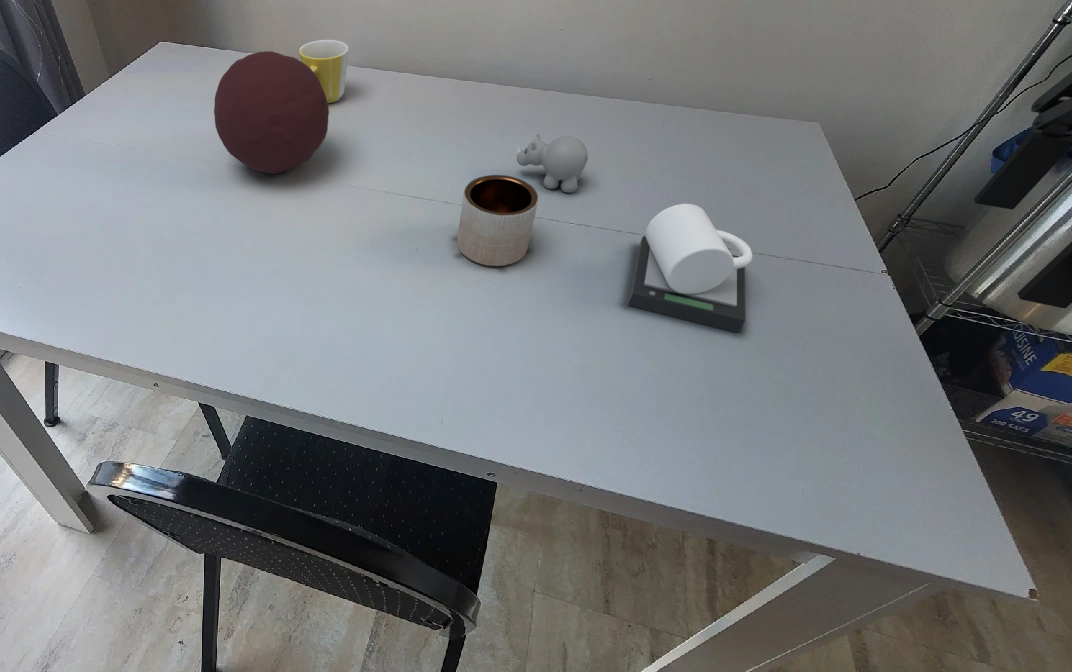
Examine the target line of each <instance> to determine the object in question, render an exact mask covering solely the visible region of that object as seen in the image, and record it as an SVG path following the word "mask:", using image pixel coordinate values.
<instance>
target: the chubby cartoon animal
mask: <svg viewBox="0 0 1072 672" xmlns="http://www.w3.org/2000/svg"><path fill="white" fill-rule="evenodd" d="M588 155H589V154H588V149H587V146H586V145H585V144H584V142H583V141H582V140H580V139H579V138H577V137H575V136H571V135H564V136H559V137H557V138H555V139H554V140H552V141H551V142H550V143H548V144H547V143H546V142H544V141H543V140H541V136H540V134H539V133H538V134H536V138H535V140H533V141H531V142H530V143H529V144H528V145H527V146H526V148H525V147H522V148H521V144H520V143H519V144H518V145H517V147H516V162H517V163H518V165H520V166H522V167H526V166H529V165H531V166H535V167H538V166H542V167H543V169H544V170H545V172H546V175H545V177H544V179H543V181H542V182H543V183H542V184H543V186H544V187H545V188H546V189H548V190H554V189H557V188H558V187H559V185H560V189H561V191H562V192H565V193H567V194H569V193H574V192H576V190H577V189H578V181H580V180H581V178H582V174H583V171H584V169H585V168H586V166H587V162H588V160H589V156H588ZM560 183H561V184H560Z"/></svg>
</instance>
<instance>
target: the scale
mask: <svg viewBox="0 0 1072 672" xmlns="http://www.w3.org/2000/svg"><path fill="white" fill-rule="evenodd" d="M731 255H732V256H733V258H737V257H740V256H739V255H735V254H731ZM634 262H635V263H634V268H633V274H632V280H631V285H630V291H629V296H628V301H627V306H628V307H632V308H635V309H639V310H643V311H647V312H652V313H656V314H658V315H659V314H660V315H664V316H668V317H671V318H676V319H680V320H684V321H688V322H691V323H696V324H700V325H704V326H707V327H712V328H715V329H720V330H723V331H728V332H732V333H736V334H737V333H739V332H740V330H741V329H742V327H743V325H744V324H745V322H746V266H745V267H743V268H739V269H732V271H731V273H730V274H729V276H728V277H727V278H726V279H725V280H724V281H723V282H722V283H720V284H719V285H717V286H716V287H714V288H712V289H710V290H707V291H705V292H701V293H696V294H683V293H679V292H676V291H674V290H673V289H671V288H670V286H669V285H668V283H667V281H666V279H665V277H664V275H663V273H662V271H661V269H660V266H659V264H658V262H657V260H656V258H655V256H654V254H653V252H652V250H651V248H650V246H649V244H648V242H647V239H646V235H643V236H642V237H641V240H640V242H639V245H638V248H637V252H636V258H635V261H634Z"/></svg>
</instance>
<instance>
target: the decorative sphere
mask: <svg viewBox="0 0 1072 672" xmlns="http://www.w3.org/2000/svg"><path fill="white" fill-rule="evenodd" d="M213 114H214V126H215V130H216V132H217V134H218V137H219V139H220V141H221V143H222V145H223V146H224V148H225V149H226V151H227V152H228V154H230V155H231V156H232V157H233V158H234V159H236V160H237V161H238V162H240V163H242V164H243V165H244V166H245V167H247V168H250V169H252V170H254V171H256V172H259V173H267V174H274V175H275V174H276V175H277V174H279V173H280V174H281V173H285V172H288V171H289V170H293V169H294V168H296V167H298V166H300V165H302V164H304V163H306V162H307V161H309V160H310V159H311V158H312V157H313V155H314V154H315V152H316V151H317V150H318V149H319V148H320V146H321V144H322V143H323V141H324V140H325V138H326V137H327V134H328V129H329V128H328V127H329V116H330V110H329V103H327V98H326V95H325V93H324V91H323V89H322V86H321V84H320V81H319V79H318V78H317V76H316V75H315V73H314V72H313V71H312V69H311V68H309V67H308V66H307V65H305V64H304V63H303V62H301V60H300V59H298V58H296V57H294V56H289V55H285V54H281V53H280V52H275V51H271V50H270V51H269V50H267V51H258V52H255V53H250V54H248V55H246V56H244V57H242V58H239V59H237V60H235V62H233V63H232V64H231V65H230V66H229V68H228V69H227V71H226V72H225V73H224V74H223V75H222V77H221V78H220V80H219V83H218V85H217V89H216V93H215V96H214V108H213Z"/></svg>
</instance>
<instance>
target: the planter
mask: <svg viewBox="0 0 1072 672" xmlns="http://www.w3.org/2000/svg"><path fill="white" fill-rule="evenodd" d="M462 196H463V197H462V204H461V211H460V218H459V223H458V231H457V237H456V239H457V241H456V242H457V247H458V250H459V251H460V253H462V254H463V255H464V256H465V257H466V258H467V259H469V260H471V261H473V262H475V263H477V264H480V265H484V266H490V267H502V266H507V265H512V264H515V263H517V262H518V261H520V260H521V259H523V257H524V256H525V255H526V254H527V251H528V249H529V245H530V240H531V235H532V231H533V226H534V221H535V217H536V212H537V208H538V203H539V194H538V192H537V190H536V189H535V187H533V186H532V184H530V183H528V182H527V181H525V180H522V179H520V178H518V177H514V176H510V175H506V174H505V175H504V174H489V175H483V176H479V177H477V178H475V179H472V180H471V181H469V182H468V183H467V184H466V186H465V187H464V190H463V195H462Z"/></svg>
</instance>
